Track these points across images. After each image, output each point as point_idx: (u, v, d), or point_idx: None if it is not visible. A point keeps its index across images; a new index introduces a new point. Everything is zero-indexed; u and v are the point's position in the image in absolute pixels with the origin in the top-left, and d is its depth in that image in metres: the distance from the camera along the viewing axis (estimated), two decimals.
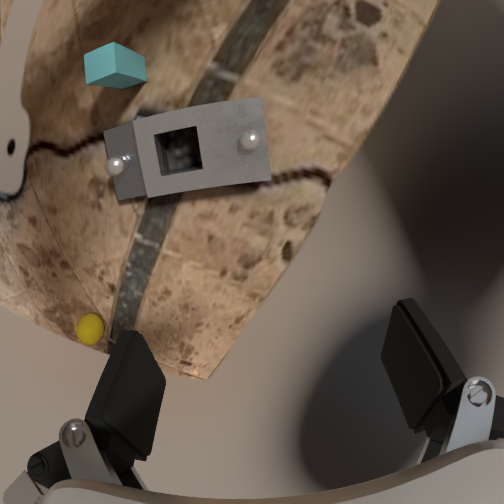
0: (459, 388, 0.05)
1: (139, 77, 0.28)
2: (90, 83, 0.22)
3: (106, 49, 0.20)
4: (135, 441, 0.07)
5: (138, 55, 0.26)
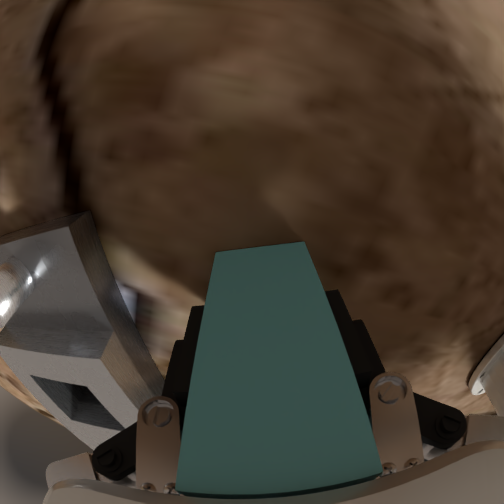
0: None
1: None
2: None
3: None
4: None
5: None
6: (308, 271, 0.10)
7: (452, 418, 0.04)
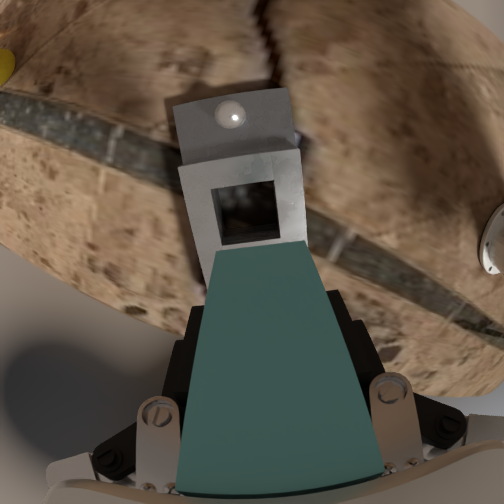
0: None
1: None
2: None
3: None
4: None
5: None
6: (309, 270, 0.10)
7: (452, 418, 0.04)
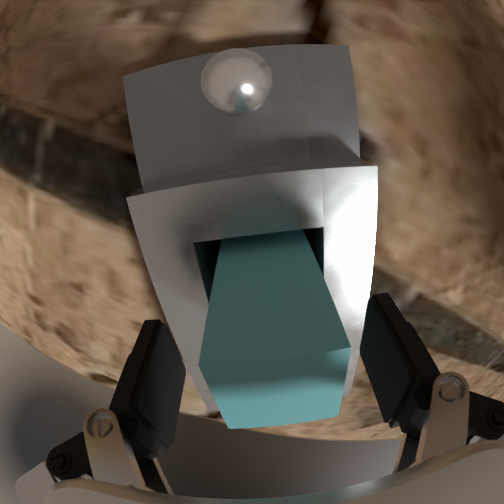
0: (432, 383, 0.06)
1: None
2: None
3: (322, 407, 0.08)
4: (160, 430, 0.07)
5: None
6: (297, 231, 0.13)
7: (502, 411, 0.04)
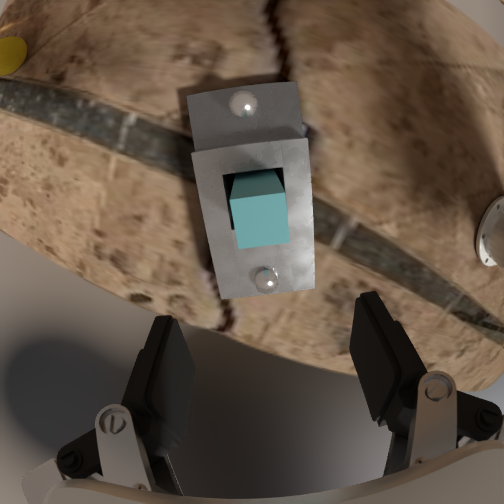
0: (419, 382, 0.06)
1: None
2: None
3: (280, 232, 0.21)
4: (172, 425, 0.07)
5: None
6: (272, 172, 0.26)
7: (491, 411, 0.04)
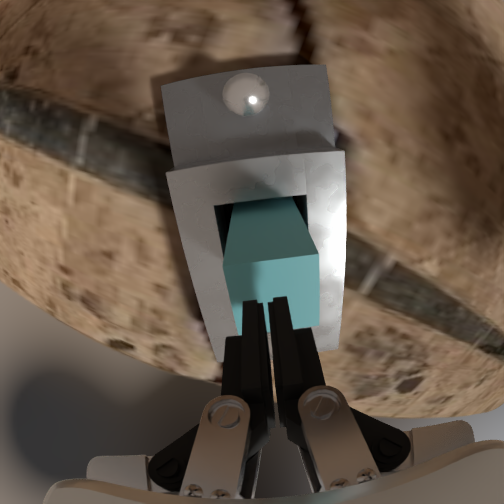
0: None
1: None
2: None
3: (306, 312, 0.13)
4: None
5: None
6: (289, 200, 0.18)
7: (392, 441, 0.05)
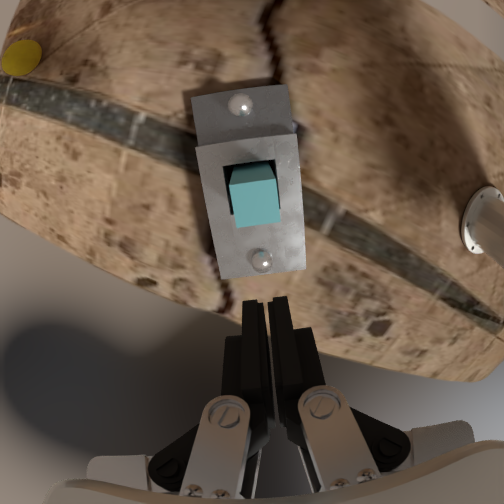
0: None
1: None
2: (230, 187, 0.24)
3: (272, 212, 0.24)
4: None
5: None
6: (266, 164, 0.29)
7: (392, 441, 0.05)
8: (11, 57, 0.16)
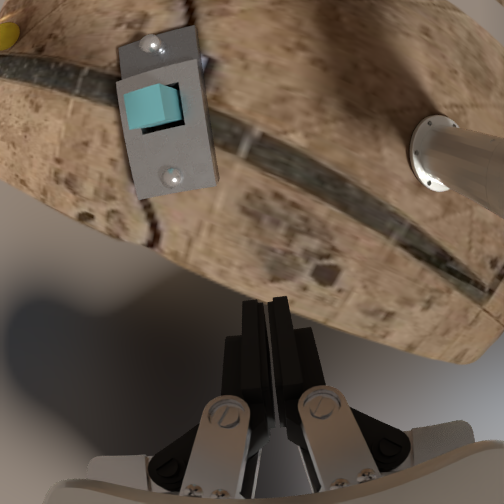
0: None
1: (153, 126, 0.30)
2: None
3: (157, 112, 0.23)
4: None
5: (179, 120, 0.30)
6: None
7: (392, 441, 0.05)
8: None
